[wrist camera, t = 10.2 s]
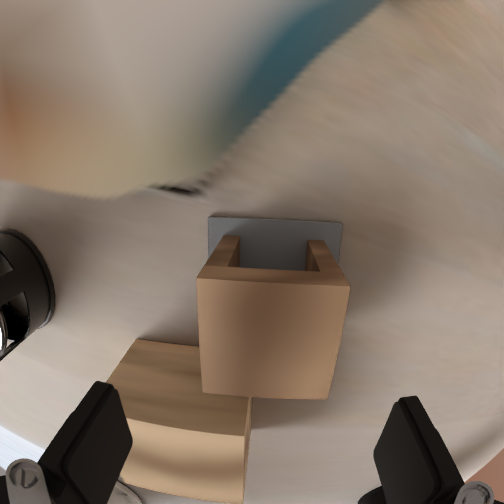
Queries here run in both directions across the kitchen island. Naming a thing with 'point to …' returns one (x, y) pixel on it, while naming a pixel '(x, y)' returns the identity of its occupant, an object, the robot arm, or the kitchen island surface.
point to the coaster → (274, 240)
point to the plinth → (181, 425)
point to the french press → (23, 290)
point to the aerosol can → (374, 497)
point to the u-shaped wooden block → (270, 324)
